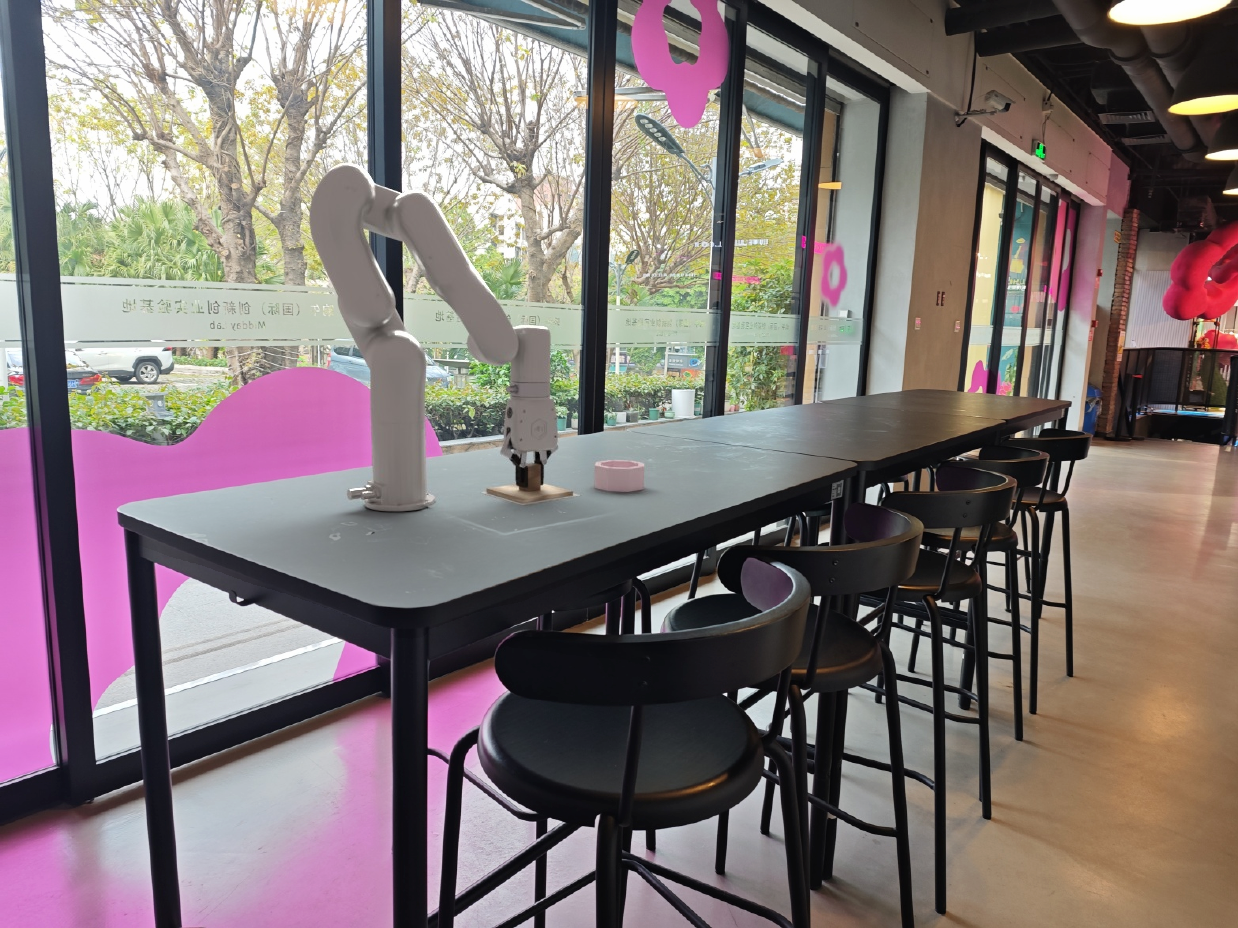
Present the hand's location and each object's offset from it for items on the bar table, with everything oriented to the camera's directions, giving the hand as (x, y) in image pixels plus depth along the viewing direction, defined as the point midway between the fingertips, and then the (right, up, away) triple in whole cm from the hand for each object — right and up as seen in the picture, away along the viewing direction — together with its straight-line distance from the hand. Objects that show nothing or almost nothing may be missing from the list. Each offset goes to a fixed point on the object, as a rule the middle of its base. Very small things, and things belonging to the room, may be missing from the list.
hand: (529, 484), depth 162 cm
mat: (0, -2, 0) cm, 2 cm away
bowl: (+17, -1, +10) cm, 20 cm away
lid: (0, -2, 0) cm, 2 cm away
